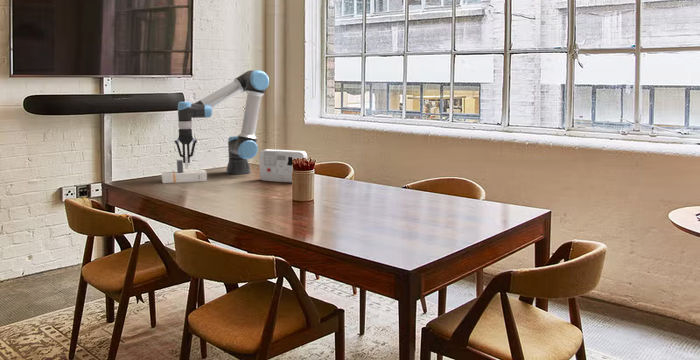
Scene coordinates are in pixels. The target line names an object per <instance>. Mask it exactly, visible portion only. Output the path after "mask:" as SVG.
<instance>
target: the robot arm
mask: <svg viewBox="0 0 700 360" xmlns="http://www.w3.org/2000/svg"><path fill="white" fill-rule="evenodd" d="M269 85H270V79H269V75H268V74H267V73H266V72H265V71H263V70H260V69H256V70H253V69H252V70H247V71H245V72H243V73H242V74H241V75H239V76H238V77H236V78H234V79H233V81H232V82H230V83H228V84H227V85H224V86H223V87H221V88H219V89H217V90H216V91H214V92H212V93H210V94H209V95H207V96H205V97H203V98H202V99H200V100H198V101H195V103H194V102H193V103H192V101H179V102H178V103H177V116H178V117H177V118H178V120H177V121H178V123H177V124H178V137H177V139H176V140H174V143H175V144H176V148H177V151H178V154H179V157H180V158H182V161H183V164H184V168H185V170H188V169H189V164H190V163H191V157H193V156H194V153H195V147H196V145H197V144H196V143H197V142H198V140H196V139H195V138H194V137H193V129H192V127H193V122H192V121H193V120H192V119H201V118H202V119H203V118H205V119H206V118H211V117H212V115H213V109H212V108H214V107H216V106H218V105H219V104H221V103H223V102H225V101H226V100H228V99H231V98H232V97H234V96H235V95H237V94H240V93H241V94H242V93H244V92H246V93H247V95H246V101H245V108H244V113H243V119H242V126H241V131H240V133H239V134H238V135H237V136H229V137H228V138H227V141H228V142H227V144H228V145H227V146H228V147H227V148H228V149H227V150H228V163H227V167H226V170H225V171H226V174H229V175H245V174H250V173H251V167H250V163H249V160H251V159H253V158H255V157H256V156H257V154H258V151H259V148H258V144H257V142H258V137H257V136H256V131H257V126H258V120H259V114H260V113H259V112H260V107H261V101H262V97H263V96H264V95H265V93H266V89H267V88H268V87H269ZM180 143H181V145H182V151H181V148H180ZM191 143H192V146H191V151H190V144H191ZM186 156H187V157H186Z"/></svg>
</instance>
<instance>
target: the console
mask: <svg viewBox="0 0 700 360" xmlns="http://www.w3.org/2000/svg"><path fill="white" fill-rule="evenodd" d="M161 182H162V184H174V183H191V182H193V183H194V182H195V183H196V182H208V172H207V170H206V169H195V170H191V169H190V170H183V172H182V173H179V172H177V170H172V171H161Z"/></svg>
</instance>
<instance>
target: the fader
mask: <svg viewBox="0 0 700 360" xmlns="http://www.w3.org/2000/svg"><path fill="white" fill-rule="evenodd" d="M176 171H177V172H179V173H182V172H183V171H184V163H183V159H176Z"/></svg>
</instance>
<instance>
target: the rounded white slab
mask: <svg viewBox="0 0 700 360" xmlns="http://www.w3.org/2000/svg"><path fill="white" fill-rule="evenodd" d="M258 157H259V158H258V160H259V178H260V180H262V181H263V182H265V181H266V182H280V183H281V182H282V183H293V182H292V170H293V165H292V160H293V159H296V158H300V159H301V158H306V159H307V160H308V153H307V152H306V151H304V150H293V149H292V150H290V149H269V148H267V149H262V150H260V152H259V156H258Z"/></svg>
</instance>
